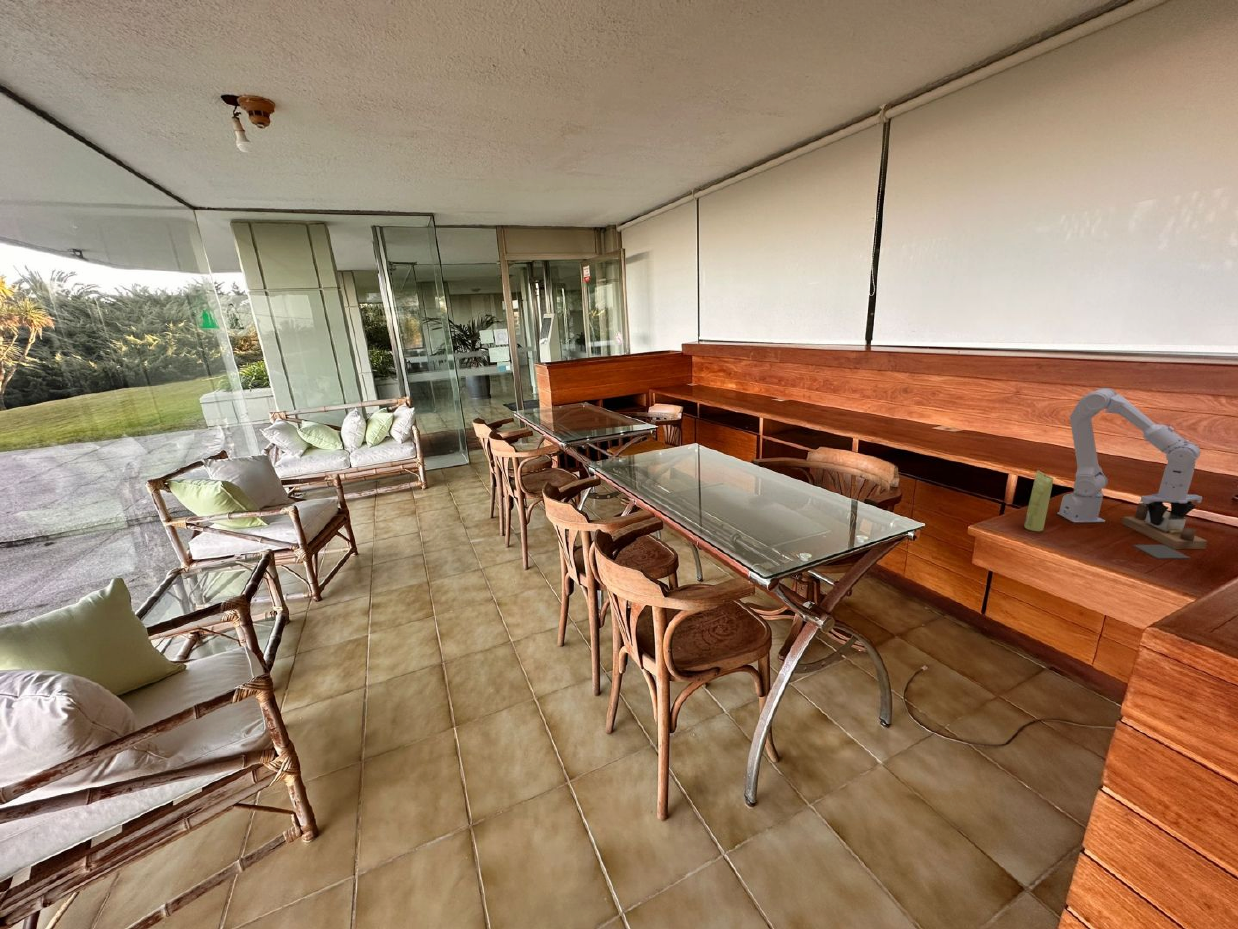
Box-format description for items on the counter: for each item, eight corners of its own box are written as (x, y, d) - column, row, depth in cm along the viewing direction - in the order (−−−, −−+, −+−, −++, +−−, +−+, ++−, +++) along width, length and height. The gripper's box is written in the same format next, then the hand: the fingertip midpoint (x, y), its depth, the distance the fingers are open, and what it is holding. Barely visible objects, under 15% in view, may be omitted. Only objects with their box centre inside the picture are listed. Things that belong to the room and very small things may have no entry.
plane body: (1173, 549, 143) (1180, 525, 140) (1121, 523, 160) (1127, 502, 157) (1205, 548, 141) (1212, 525, 139) (1149, 523, 158) (1155, 502, 156)
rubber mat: (1157, 559, 138) (1157, 557, 138) (1133, 546, 146) (1133, 545, 146) (1189, 558, 137) (1190, 557, 137) (1163, 545, 145) (1163, 544, 144)
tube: (1048, 529, 160) (1059, 473, 154) (1042, 533, 157) (1053, 477, 152) (1027, 524, 164) (1037, 470, 159) (1021, 528, 162) (1031, 473, 156)
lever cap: (1165, 531, 147) (1168, 519, 145) (1144, 522, 153) (1147, 510, 152) (1182, 531, 146) (1186, 519, 145) (1161, 521, 153) (1164, 510, 151)
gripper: (1160, 488, 143) (1148, 529, 147) (1217, 486, 140) (1204, 529, 144) (1139, 480, 149) (1128, 520, 153) (1193, 478, 147) (1181, 519, 151)
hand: (1163, 524), depth 149 cm, fingers closed on lever cap, 4 cm apart
